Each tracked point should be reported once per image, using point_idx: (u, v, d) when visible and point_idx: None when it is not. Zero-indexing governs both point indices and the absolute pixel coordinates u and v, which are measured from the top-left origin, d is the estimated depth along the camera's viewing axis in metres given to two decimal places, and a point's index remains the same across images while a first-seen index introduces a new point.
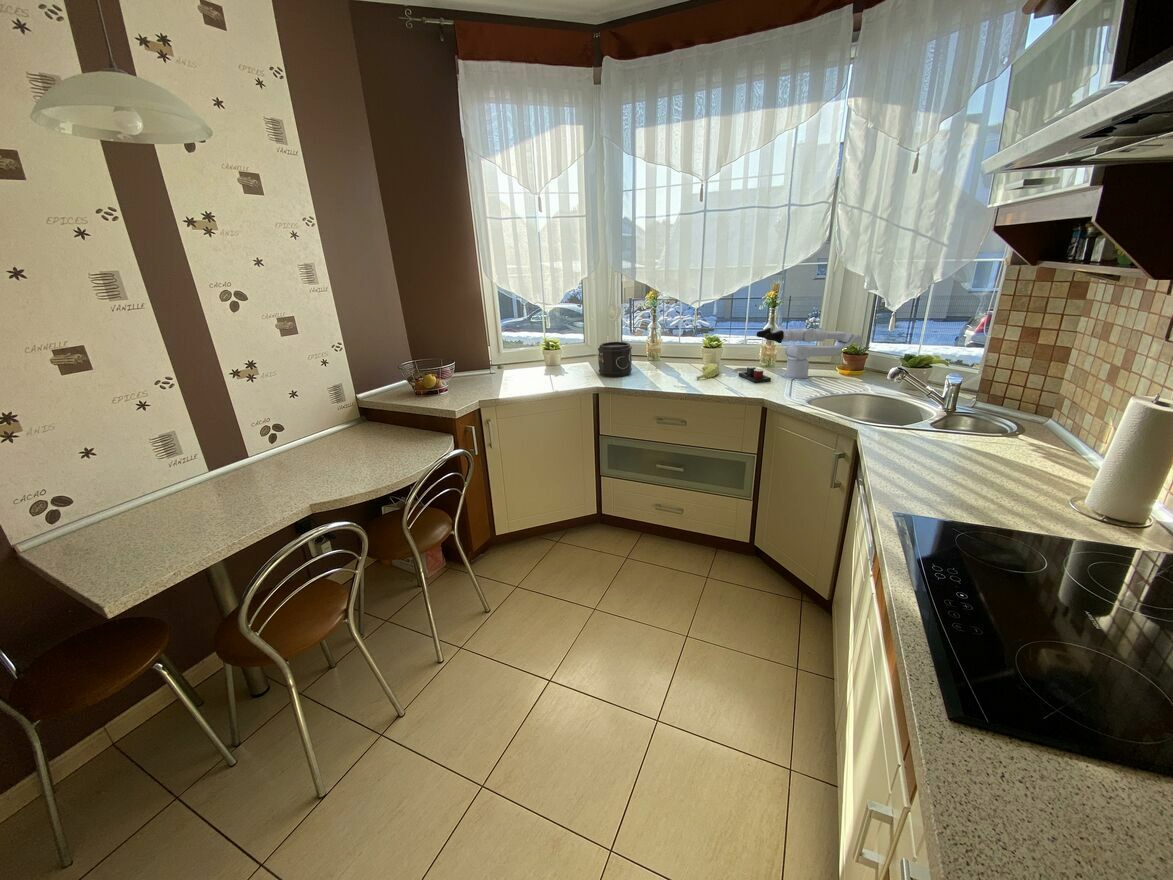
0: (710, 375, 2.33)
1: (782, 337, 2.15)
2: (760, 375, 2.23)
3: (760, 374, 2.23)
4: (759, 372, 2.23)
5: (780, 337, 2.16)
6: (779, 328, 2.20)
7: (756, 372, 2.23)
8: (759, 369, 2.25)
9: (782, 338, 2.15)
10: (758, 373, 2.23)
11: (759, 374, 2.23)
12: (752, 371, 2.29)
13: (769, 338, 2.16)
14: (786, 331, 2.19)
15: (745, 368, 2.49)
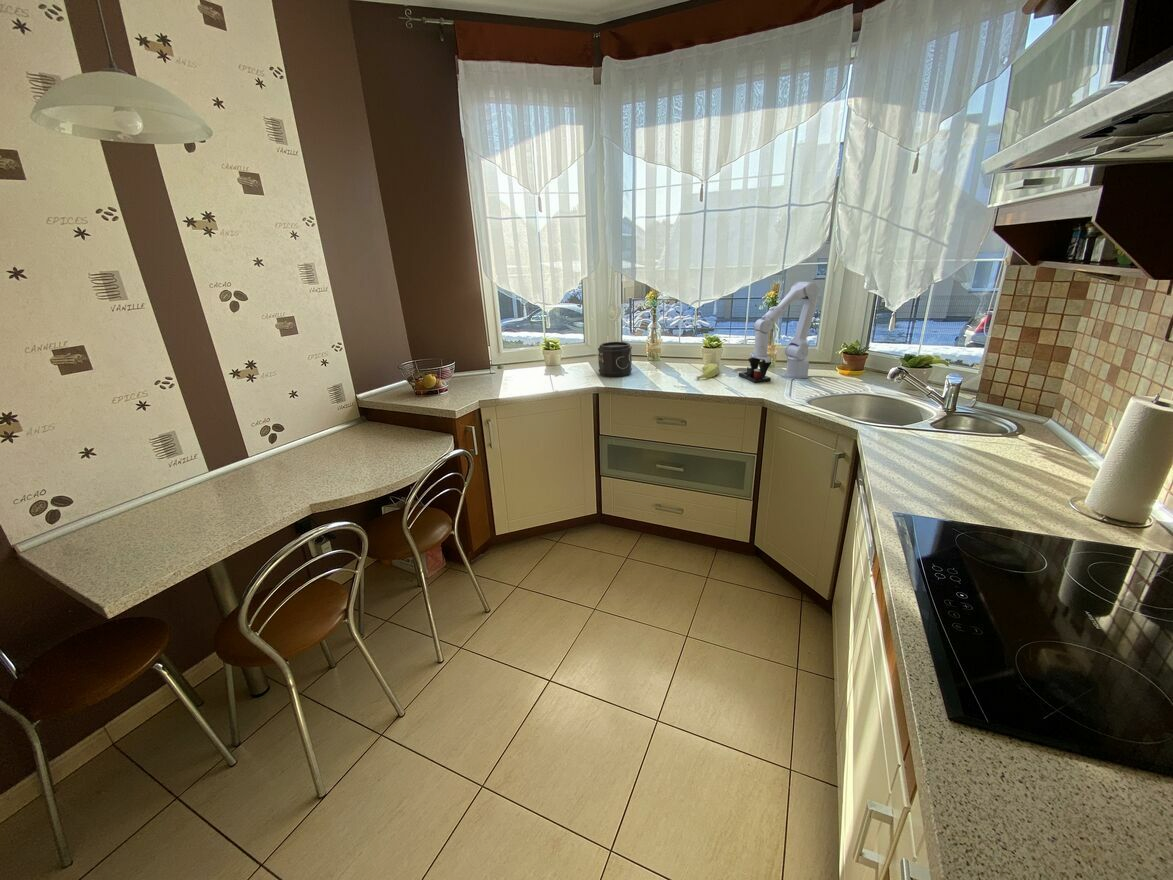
0: (710, 375, 2.33)
1: (766, 362, 2.17)
2: None
3: None
4: (759, 372, 2.23)
5: None
6: None
7: (756, 372, 2.23)
8: (759, 369, 2.25)
9: (767, 362, 2.17)
10: (758, 373, 2.23)
11: (759, 374, 2.23)
12: None
13: (764, 373, 2.21)
14: (758, 352, 2.19)
15: (745, 368, 2.49)
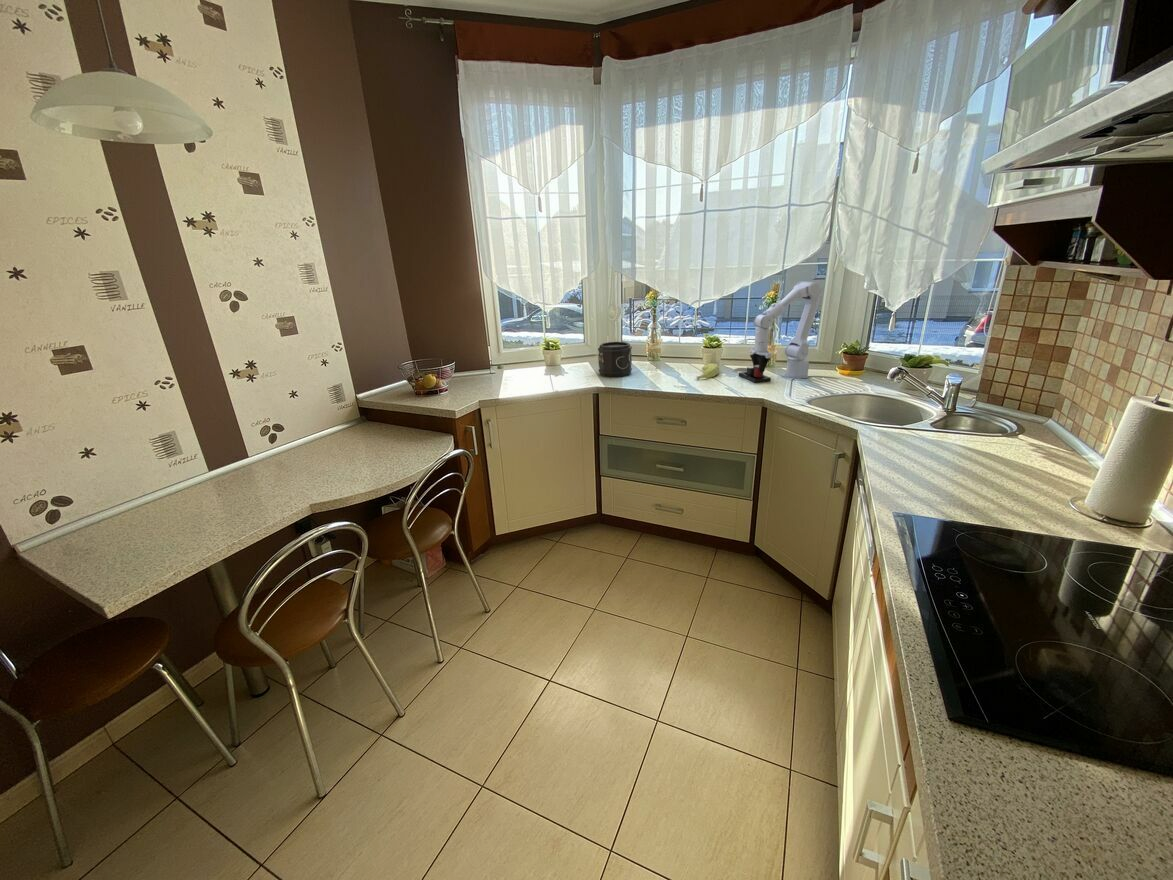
0: (710, 375, 2.33)
1: (765, 358, 2.17)
2: None
3: None
4: None
5: None
6: None
7: (756, 368, 2.23)
8: None
9: (766, 357, 2.18)
10: (758, 369, 2.22)
11: None
12: (752, 371, 2.29)
13: (764, 368, 2.21)
14: (759, 347, 2.18)
15: (745, 368, 2.49)
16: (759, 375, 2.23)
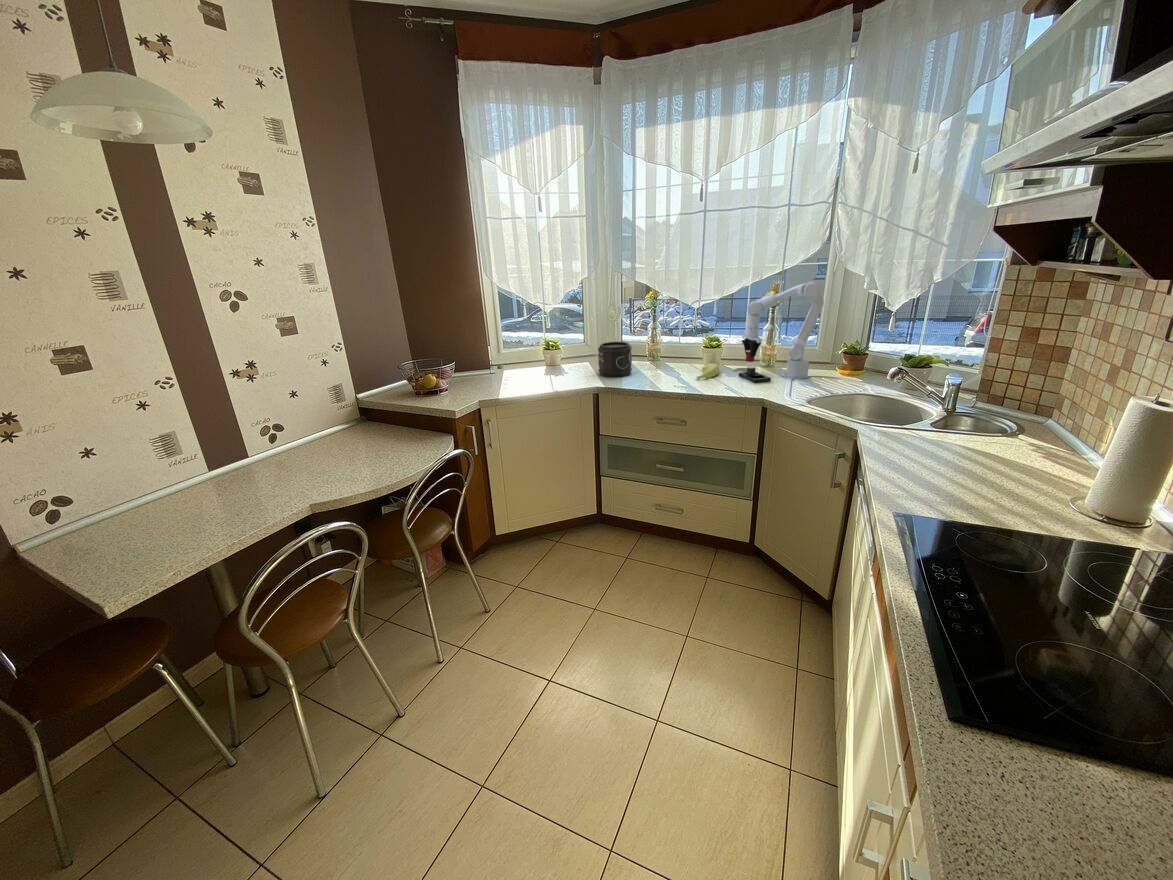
0: (710, 375, 2.33)
1: (756, 342, 2.28)
2: None
3: None
4: None
5: None
6: (746, 338, 2.31)
7: (748, 352, 2.33)
8: None
9: (757, 342, 2.28)
10: None
11: None
12: (752, 371, 2.29)
13: (755, 353, 2.32)
14: (750, 333, 2.29)
15: (745, 368, 2.49)
16: (750, 359, 2.34)
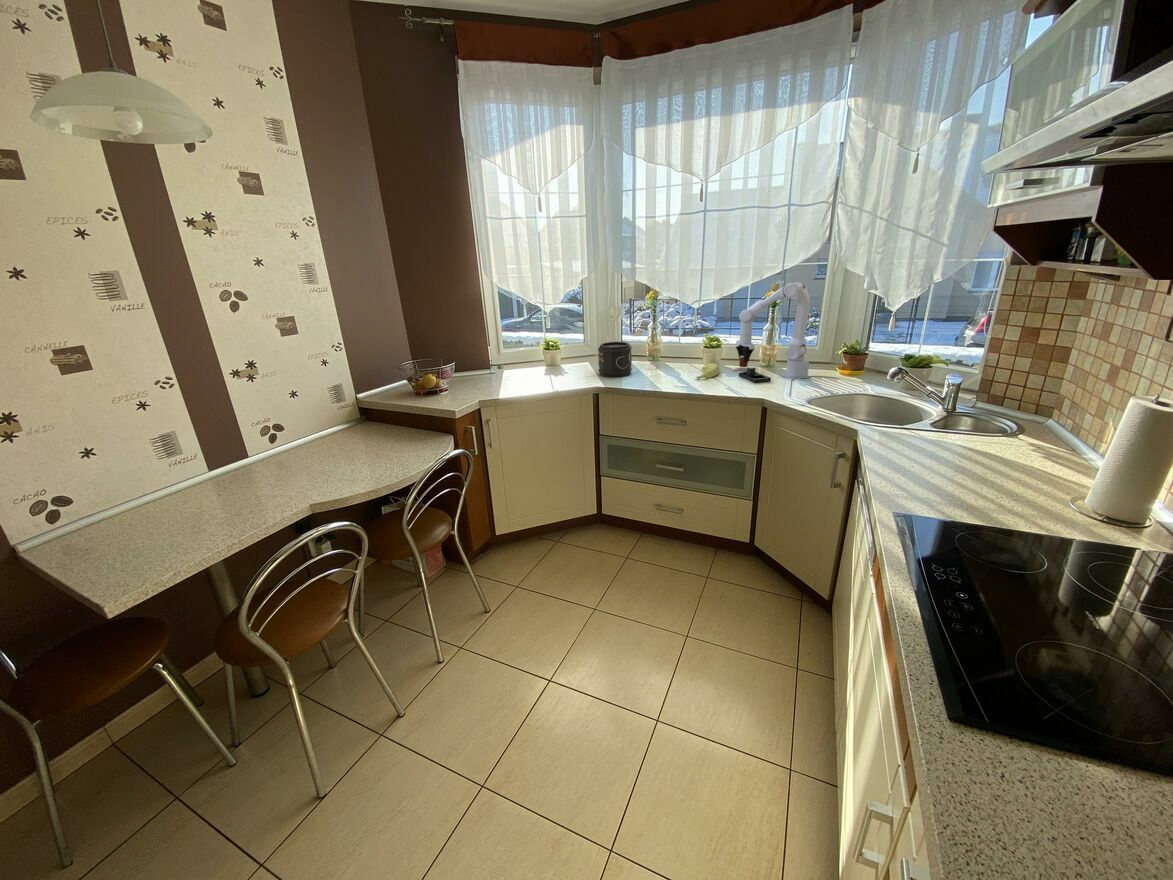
0: (710, 375, 2.33)
1: (749, 349, 2.38)
2: None
3: None
4: None
5: None
6: (739, 344, 2.41)
7: (741, 358, 2.44)
8: None
9: (750, 349, 2.38)
10: (743, 359, 2.43)
11: None
12: (752, 371, 2.29)
13: (748, 358, 2.42)
14: (743, 339, 2.39)
15: (745, 368, 2.49)
16: (744, 365, 2.44)
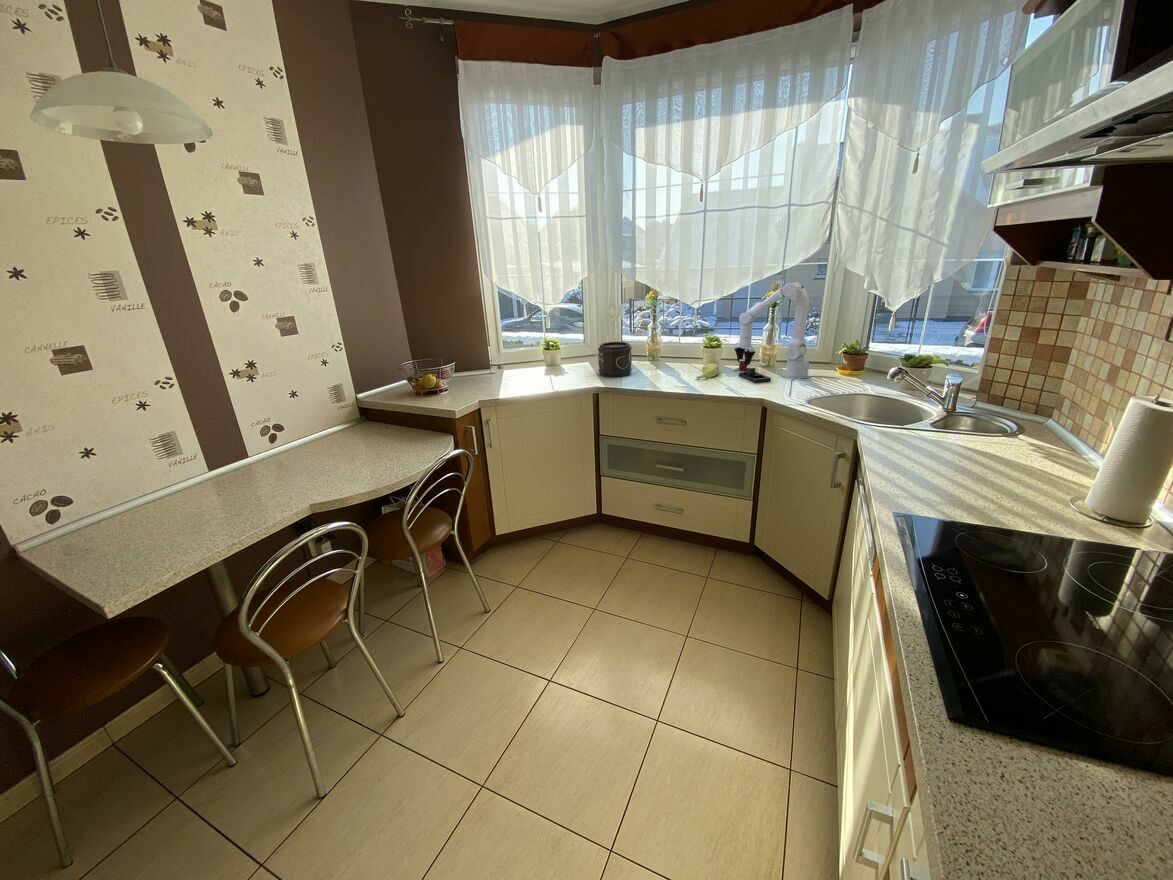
0: (710, 375, 2.33)
1: (751, 352, 2.38)
2: (745, 365, 2.44)
3: None
4: (744, 362, 2.44)
5: None
6: None
7: (741, 362, 2.44)
8: (744, 359, 2.46)
9: (751, 351, 2.38)
10: (743, 363, 2.44)
11: (744, 363, 2.44)
12: (752, 371, 2.29)
13: (749, 361, 2.41)
14: (743, 342, 2.40)
15: None
16: (743, 368, 2.45)
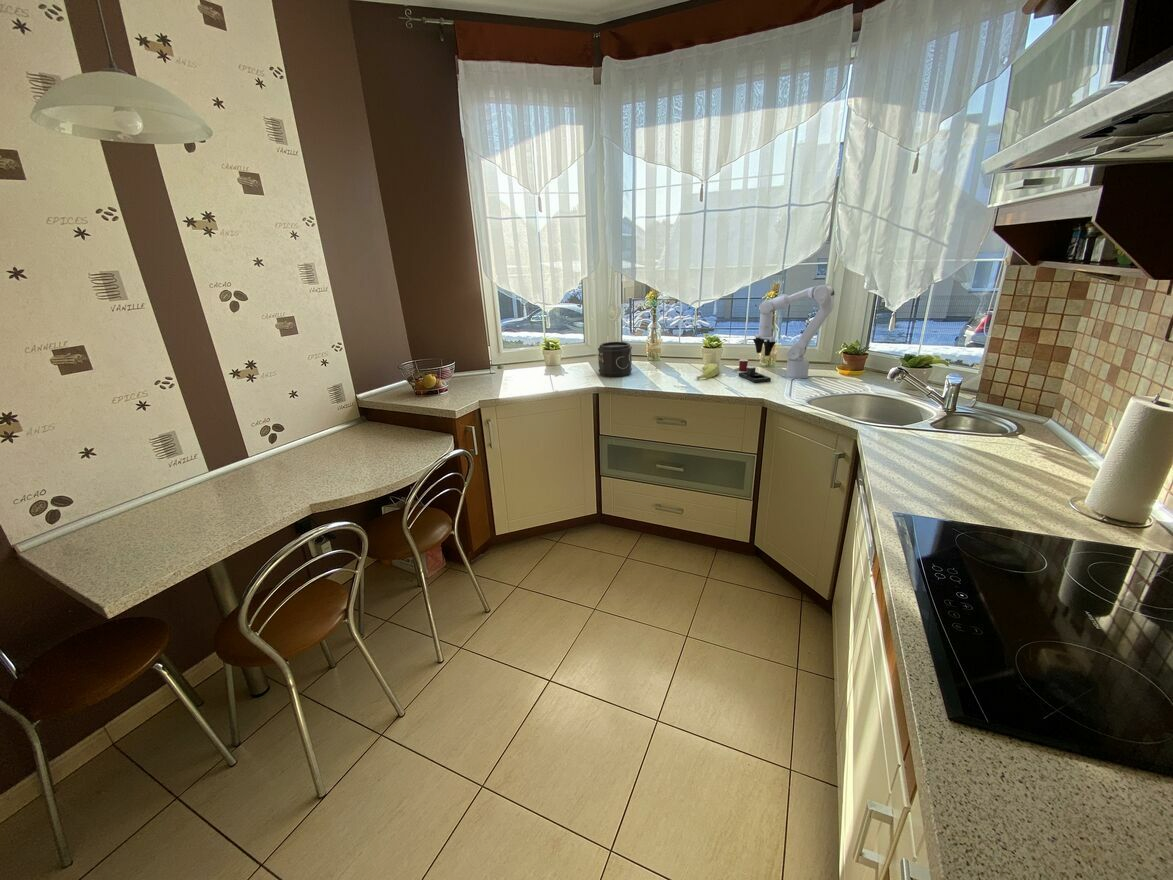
0: (710, 375, 2.33)
1: (771, 342, 2.28)
2: (745, 365, 2.44)
3: (745, 364, 2.44)
4: (744, 362, 2.44)
5: (770, 342, 2.29)
6: (758, 337, 2.32)
7: (741, 362, 2.44)
8: (744, 359, 2.46)
9: (772, 342, 2.28)
10: (743, 363, 2.44)
11: (744, 363, 2.44)
12: (752, 371, 2.29)
13: (769, 352, 2.32)
14: (763, 332, 2.30)
15: None
16: (743, 368, 2.45)
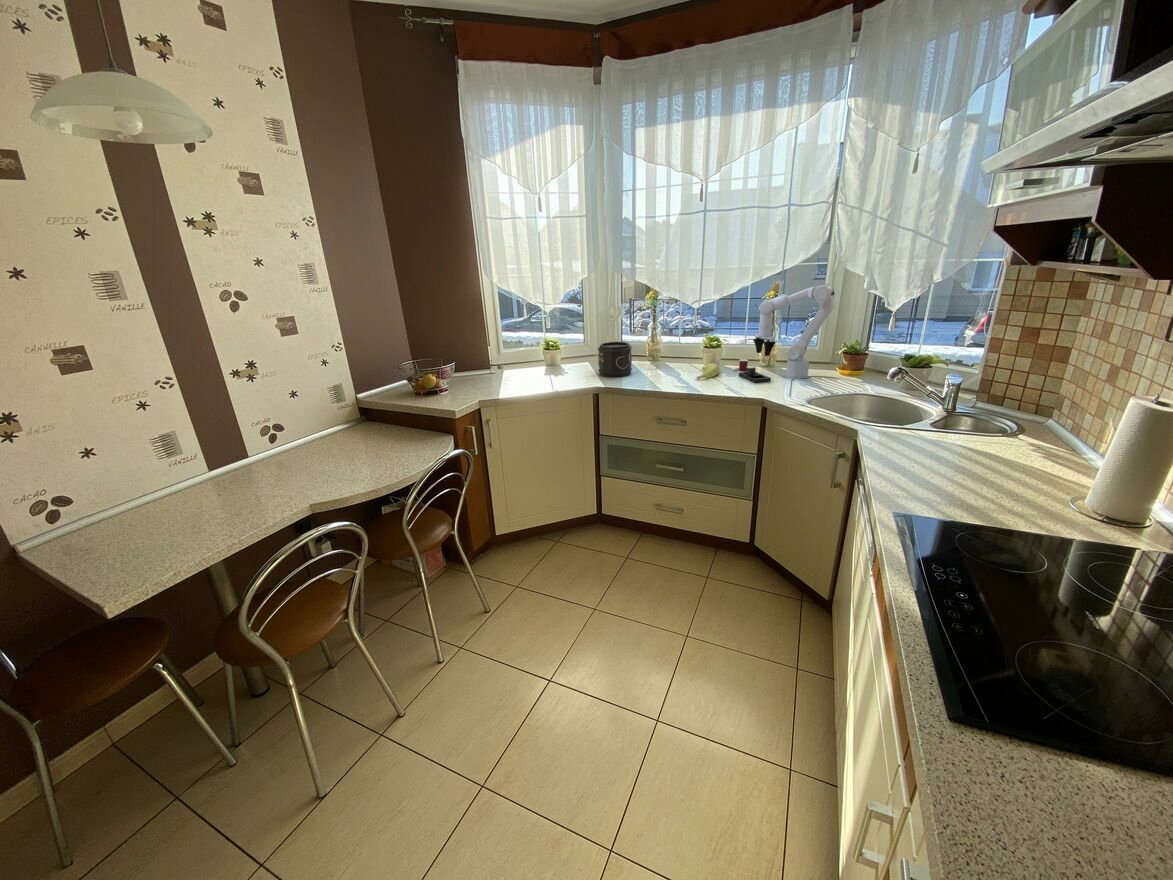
0: (710, 375, 2.33)
1: (771, 342, 2.28)
2: (745, 365, 2.44)
3: (745, 364, 2.44)
4: (744, 362, 2.44)
5: (770, 342, 2.29)
6: (758, 337, 2.32)
7: (741, 362, 2.44)
8: (744, 359, 2.46)
9: (772, 342, 2.28)
10: (743, 363, 2.44)
11: (744, 363, 2.44)
12: (752, 371, 2.29)
13: (769, 352, 2.32)
14: (763, 332, 2.30)
15: None
16: (743, 368, 2.45)
